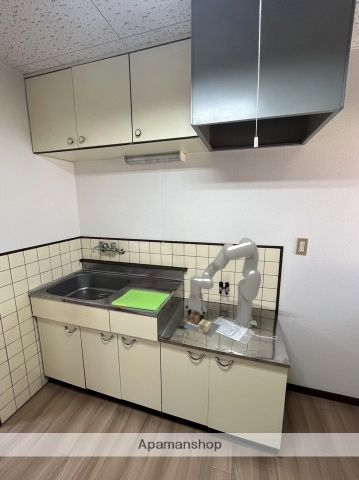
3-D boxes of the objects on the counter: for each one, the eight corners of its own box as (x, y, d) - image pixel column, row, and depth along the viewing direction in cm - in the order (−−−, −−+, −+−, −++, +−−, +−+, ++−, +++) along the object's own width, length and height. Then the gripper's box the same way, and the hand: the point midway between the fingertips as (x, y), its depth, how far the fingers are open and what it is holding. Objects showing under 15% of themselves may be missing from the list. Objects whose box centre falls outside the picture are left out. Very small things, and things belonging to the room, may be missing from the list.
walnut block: (201, 321, 154) (201, 313, 153) (197, 325, 149) (197, 317, 148) (193, 318, 157) (194, 311, 156) (189, 322, 152) (189, 315, 151)
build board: (220, 326, 149) (220, 325, 149) (210, 338, 137) (210, 337, 137) (194, 317, 160) (194, 316, 160) (183, 327, 148) (183, 326, 148)
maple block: (211, 330, 144) (211, 322, 143) (206, 335, 139) (207, 326, 138) (202, 327, 147) (202, 319, 146) (198, 331, 142) (198, 323, 141)
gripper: (209, 295, 147) (209, 318, 151) (187, 289, 156) (187, 311, 160) (204, 299, 141) (204, 323, 145) (181, 293, 150) (182, 315, 154)
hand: (195, 317), depth 152 cm, fingers open, 9 cm apart
